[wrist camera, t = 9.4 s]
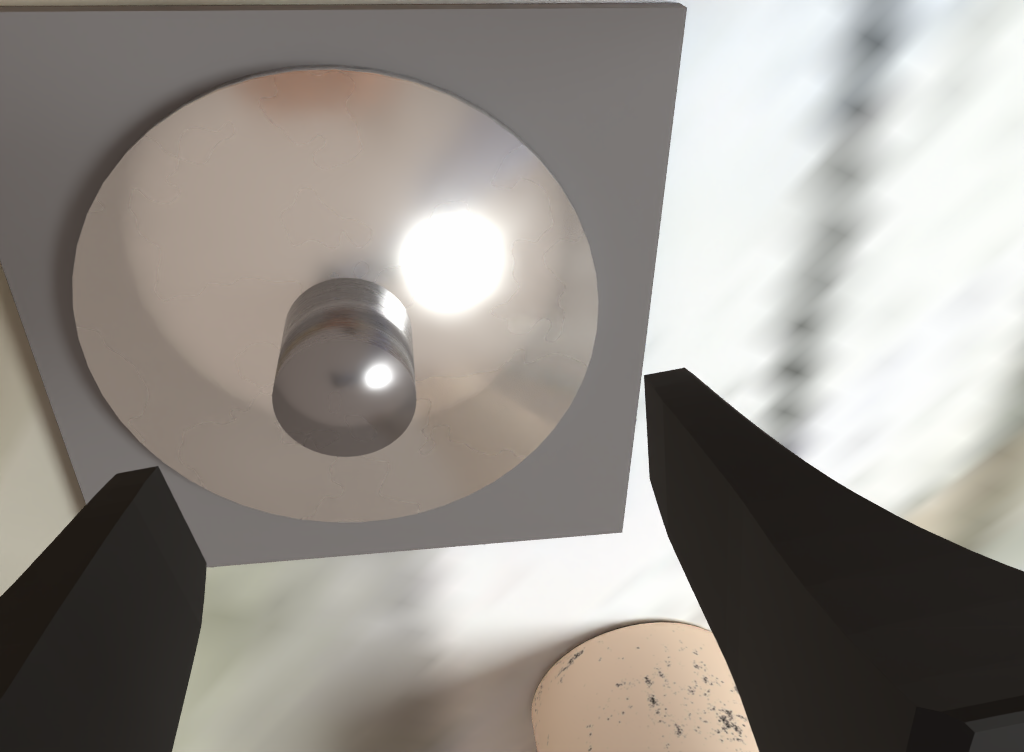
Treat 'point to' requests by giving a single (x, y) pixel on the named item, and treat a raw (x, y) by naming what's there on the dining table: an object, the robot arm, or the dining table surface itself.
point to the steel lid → (335, 294)
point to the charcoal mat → (373, 44)
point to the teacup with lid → (642, 695)
